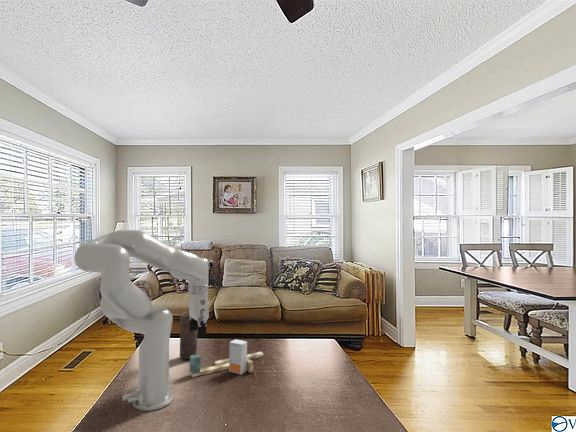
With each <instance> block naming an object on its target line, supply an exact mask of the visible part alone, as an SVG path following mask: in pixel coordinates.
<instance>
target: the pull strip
mask: <svg viewBox="0 0 576 432" xmlns="http://www.w3.org/2000/svg"><path fill="white" fill-rule="evenodd" d="M201 358H202V357H201V356H200V355H199V354H198V353H197V354H195V355H190V359H189V374H190V376H191V377H192V378H194V377H198V376H203V375H207V374H208V375H209V374H212V373H216V372H220V371H225V370H229V363H225V364H221V365H212V366H207V367H203V368H202V367H201V361H202V360H201ZM246 372H248V373H249V374H251V373H253V372H254V361H253V360H252V359H249V358H247V371H246Z"/></svg>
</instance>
